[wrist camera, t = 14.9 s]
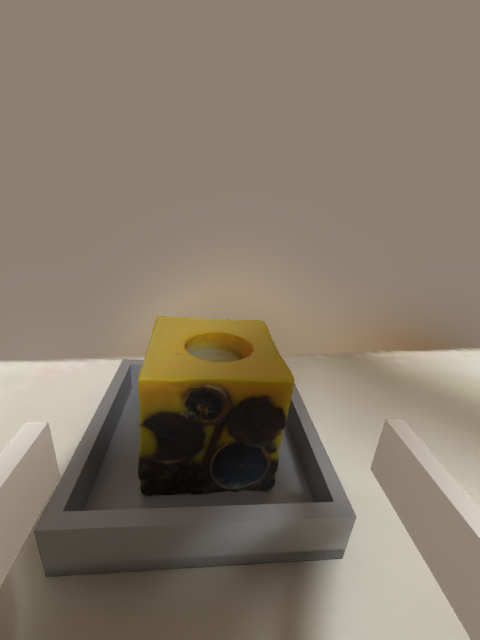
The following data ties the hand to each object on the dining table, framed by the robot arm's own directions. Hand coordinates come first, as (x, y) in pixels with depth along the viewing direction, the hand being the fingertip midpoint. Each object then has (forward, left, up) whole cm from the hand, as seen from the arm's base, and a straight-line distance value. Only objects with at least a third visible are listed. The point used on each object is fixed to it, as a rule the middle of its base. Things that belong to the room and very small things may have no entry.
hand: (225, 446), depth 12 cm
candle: (0, -11, -11) cm, 16 cm away
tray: (0, -11, -12) cm, 16 cm away
